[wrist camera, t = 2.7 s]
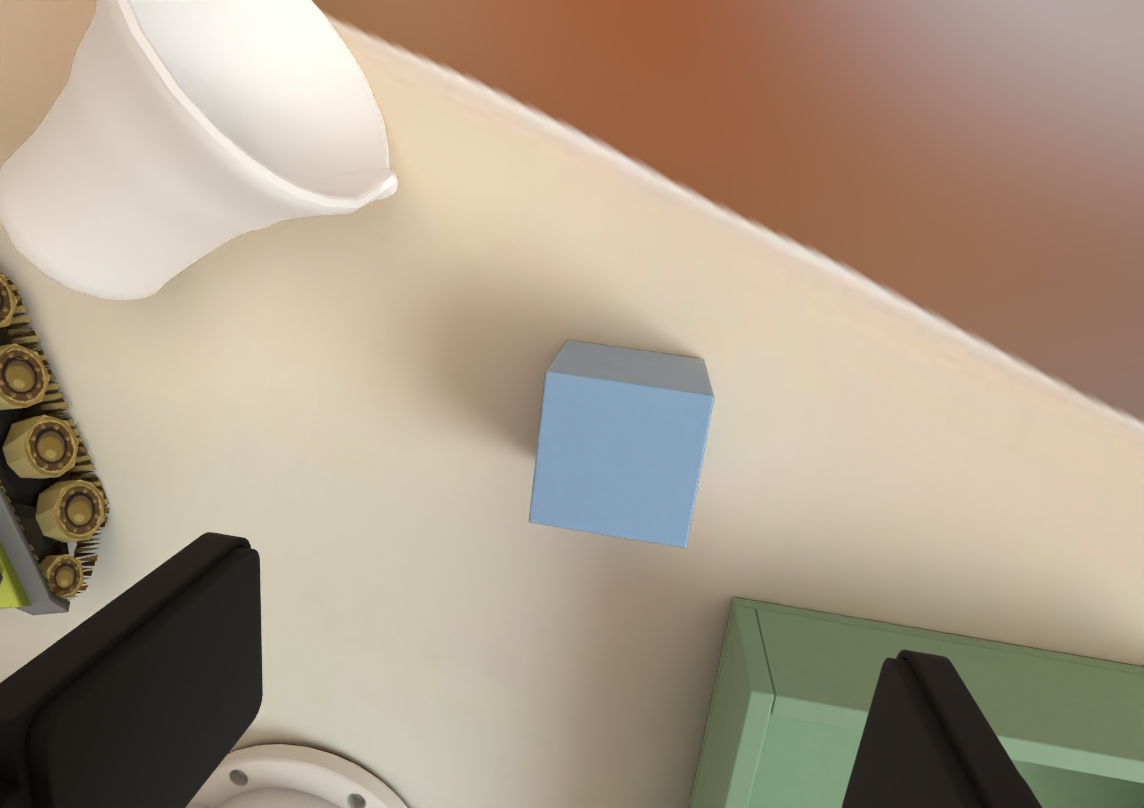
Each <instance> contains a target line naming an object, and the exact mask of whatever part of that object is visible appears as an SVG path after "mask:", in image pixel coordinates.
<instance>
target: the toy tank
mask: <svg viewBox="0 0 1144 808" xmlns="http://www.w3.org/2000/svg"><path fill="white" fill-rule="evenodd" d="M2 274H3V273H0V328H1V327H5V326H6V328H7V332H8V334H9V335H11V334H15V333H18V332H22V331H25V330H29V329H32V328H24V329H12V328H16V327H19V326H23V325H26V324H29V323H21V322H27V321H31V320H30V318H29V316H28V315H25V316H19V315H22V314H26V313H19V314H13V313H18V312H24V311H26V309H25V307H24V305H23V304H22V302H21V301H22V299H21V297H20V295H19V294H18V292H17V291H18V290H17V288H16V286H15V285H14V284H13V283H12V281H11V280H6V278H5V276H4V275H2ZM8 278H9V277H8ZM16 316H19V317H16ZM12 317H13V318H12ZM15 323H19V324H15ZM23 336H28V337H23ZM12 337H21V338H15V339H11V340H12V343H13V344H9V345H3V346H0V609H2V608H13V607H14V608H17V609H19V610H22V611H24V612H26V613H29V614H31V615H40V614H52V613H63V612H68V611H69V605H70V601H68V600H67V599H65V598H68V597H76V596H75V594H76V593H81V592H77V591H78V590H86V588H87V586H88V585H85V586H81V585H82V584H85V583H83V582H84V579H88V578H84V577H83V576H91V574H92V570H90V571H85V572H83V570H86V569H91V568H82V566H94V565H95V561H97V556H98V555H96V556H91V557H86V558H82V559H77V558H76V557H81V556H85V555H90V554H95V553H78V552H83V551H88V550H93V549H98V548H81V547H86V546H90V545H95V544H100V543H83V542H88V541H93V540H98V539H90V538H91V536H94V535H98V534H100V533H95V531H97V530H102V529H98V528H99V527H105V523H106V522H107V518H108V517H105V518H104V516H105V515H104V513H109V508H105V509H104V507H105V506H104V504H109V503H108V500H107V498H106V496H105V495H106V494H105V492H104V490H103V489H102V487H101V486H102V485H101V483H100V481H99V480H98V478H97V477H95V478H91V479H87V480H79V479H83V478H87V477H91V476H96V475H81V474H85V473H89V472H93V471H84V470H92V469H95V468H94V467H93V465H92V464H91V462H90V460H91V459H90V457H89V455H87V456H79V455H83V454H77V452H87V450H86V448H85V447H84V445H83V441H82V439H81V438H77V437H76V436H75V435H80V434H79V432H78V430H72V428H71V427H70V426H76V424H75V422H74V421H73V420H72V421H65V420H68V419H72V418H68V419H57V418H56V417H60V416H64V415H68V414H52V413H55V412H59V411H63V410H67V409H59V408H66V407H68V406H67V404H66V402H65V401H64V399H63V398H64V397H63V395H62V393H56V394H50V393H54V392H57V391H48V390H55V389H60V387H59V385H58V383H56V384H49V385H48V383H52V382H55V381H50V382H49V380H51V379H56V378H55V376H54V374H53V373H52V371H51V369H49V370H46V368H48V367H45V366H44V365H49V364H48V362H47V360H48V359H47V357H46V355H44V353H43V351H42V350H40V351H37V352H35V351H33V350H37V349H40V348H25V347H27V346H31V345H34V344H37V343H29V342H35V341H39V339H38V337H37V335H36V334H35V332H34V330H33V331H29V332H26V333H23V334H19V335H16V336H12ZM46 394H49V395H46ZM48 400H51V401H48ZM41 401H48V402H44V403H53V404H46V405H40V406H41V408H42V411H44V413H45V415H41V416H36V417H32V418H29V419H25V416H24V414H23V412H22V410H21V408H27V407H29V406H31V405H34V404H36V403H39V402H41ZM40 404H41V403H40ZM74 428H76V427H74ZM78 447H81V448H78ZM76 456H79V457H76ZM75 462H78V463H75ZM75 465H81V466H75ZM68 470H69V472H71V474H72V478H73V480H70V481H59V482H56V483H55V481H54V479H53V477H59V476H61V475H62V474H64V473H65V472H66V471H68ZM74 541H77V543H76V544H77V547H76V548H75V551H74V553H75V554H74V557H73V556H71V555H69V551H68V545H67V542H74ZM81 561H88V562H84V563H81ZM73 599H75V598H73Z"/></svg>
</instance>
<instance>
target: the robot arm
mask: <svg viewBox="0 0 1144 808" xmlns="http://www.w3.org/2000/svg"><path fill="white" fill-rule="evenodd" d="M262 693H263V692H262V645H261V597H260V558H259V554H258V552H257V551H256V550H255V549H251V545H250V543H249V541H248V540H247V539H245V538H242V537H236V536H230V535H224V534H218V533H212V532H207V533H205V534H203V535H201V536H200V537H199V538H197V539H196V540H195V541H193V542H192V543H190V544H189V545H188V546H186V547H185V548H184V549H182V550H181V551H180V552H178V553H177V554H176V555H174V556H173V557H171V558H170V559H169V560H167V561H166V562H165V563H163V564H162V565H161V566H159V567H158V568H156V569H155V570H154V571H152V572H151V573H150V574H148V575H147V576H146V577H144V578H143V579H141V580H140V581H139V582H137V583H136V584H135V585H133V586H132V587H131V588H129V589H128V590H126V591H125V592H124V593H122V594H121V595H120V596H118V597H117V598H116V599H114V600H113V601H111V602H110V603H109V604H107V605H106V606H105V607H103V608H102V609H101V610H99V611H98V612H96V613H95V614H94V615H92V616H91V617H90V618H88V619H87V620H86V621H84V622H83V623H82V624H80V625H79V626H77V627H76V628H75V629H73V630H72V631H71V632H69V633H68V634H67V635H65V636H64V637H62V638H61V639H60V640H58V641H57V642H56V643H54V644H53V645H52V646H50V647H49V648H47V649H46V650H45V651H43V652H42V653H41V654H39V655H38V656H37V657H35V658H34V659H32V660H31V661H30V662H28V663H27V664H26V665H24V666H23V667H22V668H20V669H19V670H17V671H16V672H15V673H13V674H12V675H11V676H9V677H8V678H7V679H5V680H4V681H2V682H1V683H0V808H407V806H406V805H405V804H404V803H403V802H402V800H401V799H400V798H399V797H398V796H397V795H396V794H395V793H394V792H393V791H392V790H391V789H390V788H388V787H387V786H386V785H385V784H384V783H383V782H382V781H380V780H379V779H378V778H377V777H375V776H374V775H372V774H370V773H369V772H367V771H366V770H364V769H363V768H361V767H359V766H358V765H356V764H354V763H352V762H350V761H347V760H345V759H343V758H341V757H338V756H336V755H334V754H331V753H328V752H324V751H320V750H317V749H313V748H310V747H304V746H295V745H287V744H272V745H257V746H253V747H249V748H244V749H240V750H236V751H234V752H232V753H230V754H228V753H229V752H230V750H231V749H232V748H233V746H234V745H235V744H236V743H237V741H238V740H239V739H240V737H241V736H242V735H243V734H244V732H245V731H246V730H247V729H248V727H249V726H250V725H251V723H252V722H253V721H254V719H255V718H256V715H257V713H258V711H259V708H260V706H261V701H262ZM227 754H228V755H227ZM842 808H1042V806H1041V805H1040V803H1039V802H1038V800H1037V798H1036V797H1035V795H1034V793H1033V792H1032V790H1031V789H1030V787H1029V785H1028V784H1027V782H1026V781H1025V780H1024V779H1023V777H1022V776H1021V775H1020V773H1019V772H1018V770H1017V768H1016V767H1015V765H1014V764H1013V762H1012V760H1011V759H1010V757H1009V755H1008V754H1007V752H1006V751H1005V749H1004V747H1003V746H1002V744H1001V742H1000V741H999V739H998V737H997V736H996V734H995V733H994V731H993V729H992V728H991V726H990V724H989V723H988V721H987V720H986V718H985V716H984V715H983V713H982V711H981V710H980V708H979V706H978V705H977V703H976V702H975V700H974V698H973V697H972V695H971V693H970V692H969V690H968V689H967V687H966V685H965V684H964V682H963V680H962V679H961V677H960V675H959V674H958V672H957V671H956V669H955V667H954V666H953V664H952V662H951V661H950V660H949V659H948V658H947V657H944V656H940V655H934V654H928V653H922V652H916V651H911V650H905V649H904V650H902V651H900V652H899V654H898V655H897V657H896V659H895V658H886V659H885V661H884V662H883V665H882V668H881V671H880V675H879V678H878V682H877V685H876V689H875V692H874V696H873V699H872V703H871V706H870V710H869V713H868V717H867V720H866V723H865V727H864V730H863V734H862V737H861V741H860V744H859V748H858V751H857V755H856V758H855V762H854V765H853V769H852V772H851V776H850V779H849V783H848V786H847V790H846V793H845V797H844V800H843V804H842Z"/></svg>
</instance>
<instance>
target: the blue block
mask: <svg viewBox="0 0 1144 808" xmlns="http://www.w3.org/2000/svg"><path fill="white" fill-rule="evenodd" d="M713 401H714V394H713V390H712V387H711V383H710V379H709V376H708V372H707V368H706V365H705V361H704V359H699V358H692V357H685V356H678V355H671V354H664V353H657V352H650V351H643V350H637V349H630V348H623V347H616V346H609V345H602V344H595V343H588V342H581V341H574V340H567V341H566V343H565V344H564V346H563V347H562V349H561V350H560V352H559V353H558V354H557V356H556V357H555V359H554V360H553V362H552V363H551V365H550V366H549V368H548V369H547V371H546V373H545V382H544V391H543V400H542V408H541V417H540V426H539V435H538V444H537V453H536V462H535V471H534V479H533V488H532V497H531V506H530V515H529V522H530V523H536V524H542V525H548V526H554V527H560V528H566V529H572V530H578V531H584V532H590V533H596V534H602V535H608V536H614V537H621V538H627V539H633V540H639V541H645V542H651V543H657V544H663V545H669V546H675V547H681V548H686V546H687V541H688V536H689V530H690V525H691V520H692V514H693V509H694V503H695V498H696V493H697V487H698V482H699V477H700V471H701V466H702V460H703V455H704V450H705V444H706V439H707V434H708V428H709V423H710V417H711V412H712V407H713Z"/></svg>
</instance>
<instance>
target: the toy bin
mask: <svg viewBox="0 0 1144 808" xmlns="http://www.w3.org/2000/svg"><path fill="white" fill-rule="evenodd" d="M904 649H905V650H911V651H916V652H922V653H928V654H934V655H940V656H944V657H947V658H948V659H949V660H950V661H951V662H952V664H953V666H954V667H955V669H956V671H957V672H958V674H959V675H960V677H961V679H962V680H963V682H964V684H965V685H966V687H967V689H968V690H969V692H970V693H971V695H972V697H973V698H974V700H975V702H976V703H977V705H978V706H979V708H980V710H981V711H982V713H983V715H984V716H985V718H986V720H987V721H988V723H989V724H990V726H991V728H992V729H993V731H994V733H995V734H996V736H997V737H998V739H999V741H1000V742H1001V744H1002V746H1003V747H1004V749H1005V751H1006V752H1007V754H1008V755H1009V757H1010V759H1011V760H1012V762H1013V764H1014V765H1015V767H1016V768H1017V770H1018V772H1019V773H1020V775H1021V776H1022V777H1023V779H1024V780H1025V781H1026V782H1027V784H1028V785H1029V787H1030V789H1031V790H1032V792H1033V793H1034V795H1035V797H1036V798H1037V800H1038V802H1039V803H1040V805H1041V806H1042V808H1144V667H1141V666H1135V665H1129V664H1124V663H1118V662H1112V661H1106V660H1100V659H1094V658H1088V657H1082V656H1077V655H1071V654H1065V653H1059V652H1053V651H1047V650H1041V649H1035V648H1029V647H1024V646H1018V645H1012V644H1006V643H1000V642H994V641H988V640H982V639H977V638H971V637H965V636H959V635H953V634H947V633H941V632H935V631H930V630H924V629H918V628H912V627H906V626H900V625H894V624H888V623H883V622H877V621H871V620H865V619H859V618H853V617H847V616H841V615H836V614H830V613H824V612H818V611H812V610H806V609H800V608H794V607H789V606H783V605H777V604H771V603H765V602H759V601H753V600H747V599H742V598H736V597H734V598H733V601H732V605H731V610H730V615H729V620H728V624H727V629H726V634H725V638H724V643H723V648H722V653H721V657H720V662H719V667H718V671H717V676H716V681H715V686H714V690H713V695H712V700H711V704H710V709H709V714H708V719H707V723H706V728H705V733H704V737H703V742H702V747H701V752H700V756H699V761H698V766H697V770H696V775H695V780H694V785H693V789H692V794H691V799H690V803H689V808H842V804H843V800H844V797H845V793H846V790H847V786H848V783H849V779H850V776H851V772H852V769H853V765H854V762H855V758H856V755H857V751H858V748H859V744H860V741H861V737H862V734H863V730H864V727H865V723H866V720H867V717H868V713H869V710H870V706H871V703H872V699H873V696H874V692H875V689H876V685H877V682H878V678H879V675H880V671H881V668H882V665H883V662H884V661H885V659H886V658H895V659H896V657H897V655H898V654H899V652H900V651H902V650H904Z"/></svg>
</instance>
